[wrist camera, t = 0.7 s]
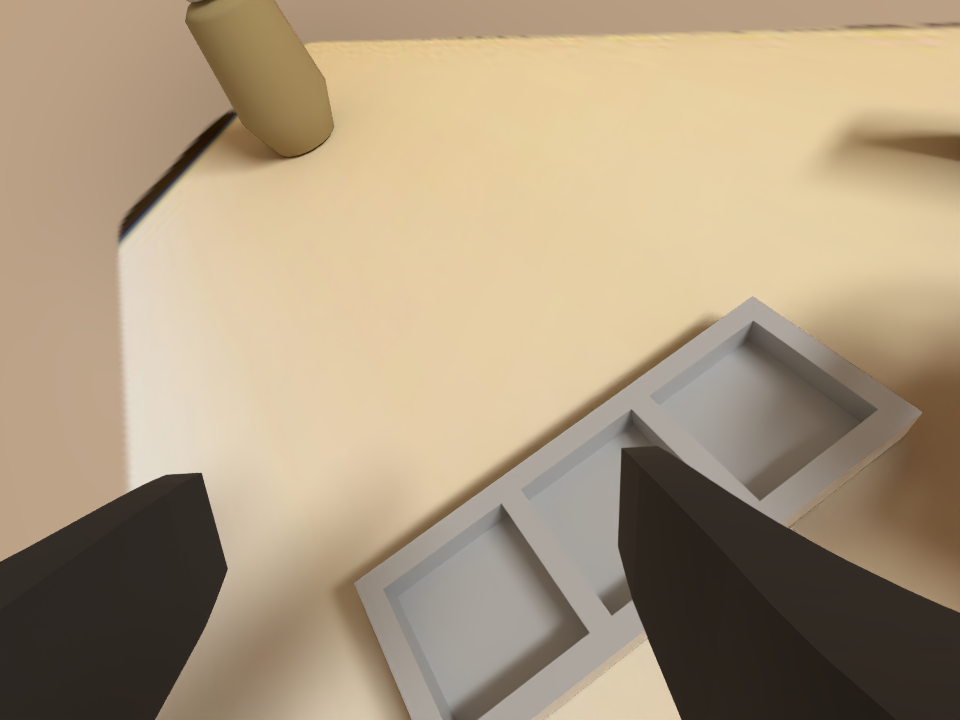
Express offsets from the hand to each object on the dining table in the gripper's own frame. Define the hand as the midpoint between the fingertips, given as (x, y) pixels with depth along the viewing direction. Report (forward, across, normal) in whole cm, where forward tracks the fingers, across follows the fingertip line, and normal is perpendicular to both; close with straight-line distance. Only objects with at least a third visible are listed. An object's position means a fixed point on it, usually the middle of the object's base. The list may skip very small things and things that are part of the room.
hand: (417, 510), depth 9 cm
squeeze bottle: (+46, +14, -8) cm, 49 cm away
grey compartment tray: (+12, -7, +9) cm, 16 cm away
